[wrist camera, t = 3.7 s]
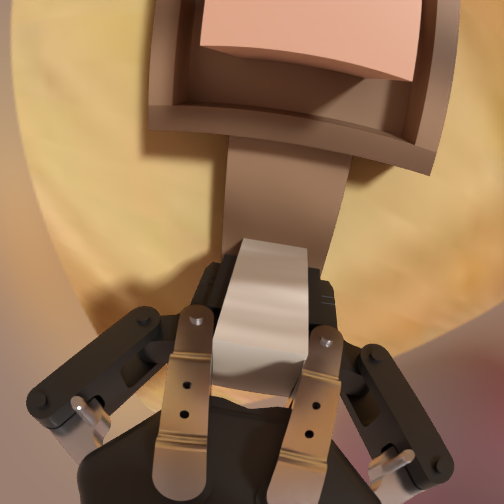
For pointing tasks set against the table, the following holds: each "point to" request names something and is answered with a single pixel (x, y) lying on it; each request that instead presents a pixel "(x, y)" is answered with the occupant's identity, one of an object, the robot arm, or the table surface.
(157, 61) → the tray
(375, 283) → the table surface
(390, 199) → the table surface
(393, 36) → the terracotta cube
